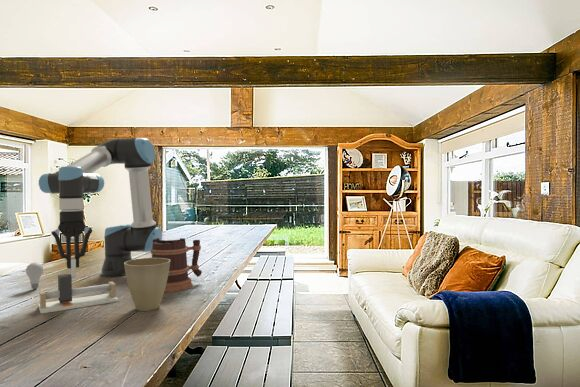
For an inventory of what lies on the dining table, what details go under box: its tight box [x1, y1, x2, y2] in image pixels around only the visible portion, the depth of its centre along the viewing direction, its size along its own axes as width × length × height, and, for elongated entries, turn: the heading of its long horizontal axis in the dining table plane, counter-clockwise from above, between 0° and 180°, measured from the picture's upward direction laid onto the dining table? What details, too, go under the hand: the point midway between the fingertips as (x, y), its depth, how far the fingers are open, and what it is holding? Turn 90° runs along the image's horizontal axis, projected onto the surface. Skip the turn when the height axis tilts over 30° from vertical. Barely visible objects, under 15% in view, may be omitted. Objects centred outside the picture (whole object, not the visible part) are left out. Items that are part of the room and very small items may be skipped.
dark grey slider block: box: [57, 273, 73, 303], centre depth 142 cm, size 4×5×9 cm, turn 35°
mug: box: [150, 237, 203, 293], centre depth 169 cm, size 18×23×20 cm
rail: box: [38, 281, 119, 314], centre depth 145 cm, size 24×10×6 cm, turn 125°
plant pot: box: [124, 257, 170, 312], centre depth 139 cm, size 15×15×16 cm
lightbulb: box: [25, 262, 44, 290], centre depth 167 cm, size 6×6×11 cm
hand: (73, 277), depth 144 cm, fingers closed
